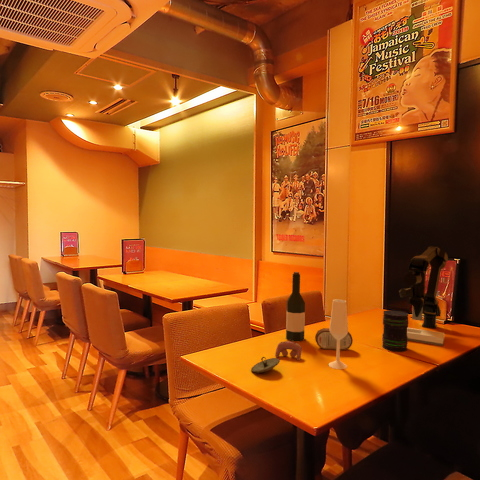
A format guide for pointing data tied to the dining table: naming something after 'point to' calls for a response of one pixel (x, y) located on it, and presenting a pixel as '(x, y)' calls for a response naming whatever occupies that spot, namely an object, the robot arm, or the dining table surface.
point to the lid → (265, 365)
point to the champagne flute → (338, 328)
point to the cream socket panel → (425, 336)
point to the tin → (332, 340)
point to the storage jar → (395, 330)
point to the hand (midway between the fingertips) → (417, 315)
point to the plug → (418, 316)
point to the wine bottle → (295, 312)
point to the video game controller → (292, 346)
